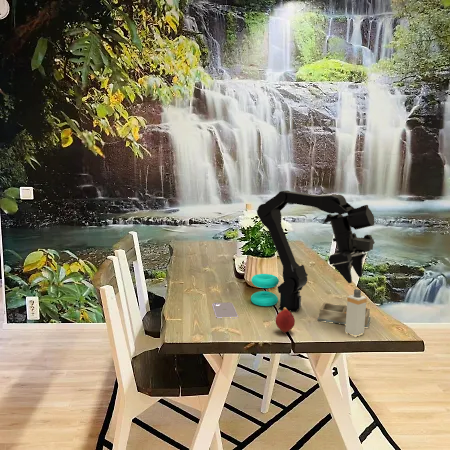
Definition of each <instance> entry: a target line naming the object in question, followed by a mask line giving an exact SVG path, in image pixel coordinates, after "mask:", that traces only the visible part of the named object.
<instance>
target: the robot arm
mask: <svg viewBox="0 0 450 450" xmlns="http://www.w3.org/2000/svg"><path fill="white" fill-rule="evenodd" d="M288 204H293V205H300V206H307V207H312V208H316V209H318V210H319V211H322V212H324V213H328V214H326V217H325V219H324V220H323V223H325V224H326V223H330V225H331V229H332V232H333V237H334V238H332V242H333V243H334V242H335V243H336V248H337V250H336V251H335V253H333V254H330V255H329V257H328V262H329V263H328V264H329V265H331V266H332V267H333V268H335V269H336V271H337V272H339V274H340V275H341V276H342V277H343V279H344V280H345V281H346V282H347V283H348V284H352V283H353V277H352V272H351V271H352V270H351V267H352V269H353V270H354V272H355V273H356V275H357V276H358V277H359V278H361V277H363V261H364V258H365V257H366V255H367V252H371V250H373V249H374V244H375V241H374V240H375V239H374V238H373V237H372V234H365V235H364V236H363V237H357V234H356V233H355V232H354V233H353V230H352V229H354V230H356V231H357V230H361V229H364V228H369V227H370V228H371V227H373V226H374V225H375V215H374V213H373V211H372V210H371V209H370V208H369V205H368V204H364V205H362V206H359V207H354V206H352V205H351V204H350V203H348V201H347V199H346V198H345V196H344V195H342V194H324V195H317V194H310V193H305V192H304V193H303V192H295V191H290V190H280V191H279V192H278V193H277V194H275V196H274V195H273V197H271V198H270V199H269V200H266V201H265V203H260V204H259V205H258V208H257V210H256V215H257V217H258V218H259V220H260V222H261V223H262V224H263V225H264V226H265V228H267V230H268V232H269V234H270V238H271V239H272V242H273V244H274V247H275V251H276V252H277V253H276V254H277V255H278V258H279V260H280V263H281V265H282V279H283V282H282V283H281V284H279V285H277V286H276V287H277V288H276V289H277V292H278V293H279V294H280V296H279V298H280V299H279V302H280V303H279V307H278V310H279V309H280V311H283V308H286V309H287V310H288V311H290V312H291V313H292V312H294V313H297V312H298V310H299V309H301V307H302V296H301V294H300V292H301V291H302V289H303V287H305V286H306V284H307V282H308V276H309V275H308V273H307V271H306V268H305V265H304V264H301V265H300V264H299V263H297V261H296V259H295V257H294V253H293V251H292V248H291V246H290V244H289V241H288V238H287V237H286V234H285V232H284V228H283V226H282V213H281V211H283V209H285V207H286V206H287V205H288ZM332 214H334V215H332ZM344 214H347V215H344Z"/></svg>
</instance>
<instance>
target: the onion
mask: <svg viewBox="0 0 450 450" xmlns="http://www.w3.org/2000/svg"><path fill="white" fill-rule="evenodd" d="M295 321H296V320H295V317H294V315H293V314H292V311H288V310H287V309H286V308H283V310H280V312H279V313H277V315H276V317H275V325H276V326H277V328H278V329H279V330H280V331H281V332H282V333H284V334H285V333H287V332H290V331H291V330H292V329H293V328H294V327H295V323H296V322H295Z"/></svg>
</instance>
